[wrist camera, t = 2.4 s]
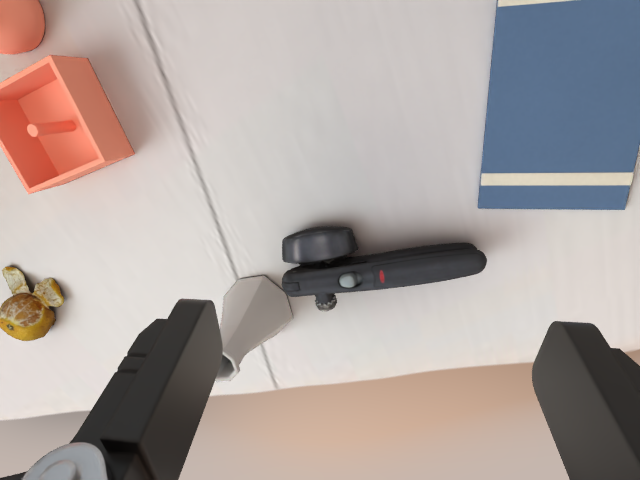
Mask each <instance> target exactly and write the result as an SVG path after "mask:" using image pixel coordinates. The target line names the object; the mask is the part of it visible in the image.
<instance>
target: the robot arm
mask: <svg viewBox="0 0 640 480" xmlns="http://www.w3.org/2000/svg"><path fill="white" fill-rule="evenodd" d="M222 353H223V343H222V338H221V333H220V329H219V324H218V319H217V315H216V310H215V306H214V303H213V302H212V301H211V300H197V299H180V300H179V301H178V302H177V303H176V305H175V307H174V308H173V310H172V312H171V314H170V315H169V317H168V319H156V320H155V321H154V322H153V323H152V324H150V325H149V326H148V327H147V328H146V329H145V330H143V331H142V332H141V333H140V334H139V335H138V337H137V338H136V340H135V341H134V343H133V345H132V346H131V348H130V349H129V351H128V355H127V357H124V359H123V361H122V362H121V364H120V365H119V367H118V371H117V372H115V373H114V375H113V377H112V378H111V380H110V381H109V383H108V385H107V386H106V388H105V389H104V391H103V393H102V394H101V396H100V397H99V399H98V401H97V402H96V404H95V405H94V407H93V409H92V410H91V412H90V414H89V415H88V417H87V418H86V420H85V422H84V423H83V425H82V426H81V428H80V430H79V431H78V433H77V434H76V435H75V437H74V438H73V440H72V441H71V442H70V443H69V444H67V445H64V446H61V447H59V448H57V449H55V450H53V451H51V452H49V453H48V454H47V455H45V456H43V457H42V458H41V459H40V460H38V461H37V462H36V463H35V464H34V465H33V466H32V467H31V468H30V469H29V470H28V471H27V472H23V473H20V474H16V475H12V476H7V477H3V478H0V480H178V479H179V476H180V473H181V471H182V468H183V465H184V463H185V460H186V457H187V454H188V452H189V449H190V446H191V444H192V440H193V438H194V435H195V433H196V430H197V427H198V425H199V422H200V419H201V417H202V414H203V411H204V408H205V406H206V403H207V400H208V398H209V395H210V392H211V390H212V387H213V384H214V381H215V379H216V376H217V373H218V371H219V368H220V365H221V360H222ZM532 381H533V387H534V390H535V393H536V396H537V398H538V401H539V403H540V406H541V408H542V411H543V413H544V416H545V418H546V421H547V423H548V426H549V428H550V431H551V433H552V436H553V438H554V441H555V443H556V446H557V448H558V451H559V454H560V456H561V459H562V461H563V464H564V466H565V469H566V471H567V473H568V476H569V479H570V480H640V366H639V365H638V364H637V363H635V362H634V361H633V360H632V359H631V358H630V357H629V356H627V355H626V354H625V353H624V352H623V351H622V350H620V349H616V348H610V346H609V345H608V343H607V342H606V340H605V339H604V337H603V335H602V334H601V332H600V331H599V329H598V328H597V327H596V326H595V325H593V324H591V323H578V322H560V321H555V322H553V323H552V324H551V325H550V327H549V329H548V331H547V334H546V336H545V338H544V341H543V343H542V345H541V348H540V350H539V352H538V355H537V357H536V359H535V362H534V364H533V370H532Z"/></svg>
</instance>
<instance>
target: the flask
mask: <svg viewBox="0 0 640 480" xmlns="http://www.w3.org/2000/svg"><path fill="white" fill-rule="evenodd" d="M292 318H293V316H292V312H291V309H290V306H289V302H288V299H287V296H286V293H285V292H283V291H282V290H281V289H280V288H279V287H277V286H276V285H275V284H274V283H273V282H271V281H270V280H269V279H268V278H266V277H265V276H258V277H251V278H244V279H238V281H237V282H236V283H235V284H234V285H233V287H232V288H231V289H230V290H229V291H228V292H227V294H226V295H225V296H224V299H223V309H222V318H221V325H220V333H221V338H222V343H223V353H222V360H221V365H220V368H219V371H218V373H217V376H216V379H215V381H216V382H224V381H231V380H232V379H233V378H234V377H235V376H236V375H237V374H238V372H239V371H240V368H239V364H240V362H241V361H242V359H243V357H244V356H245V355H246V354H247V353H248V352H250V351H251V350H253V349H254V348H256V347H257V346H259V345H260V344H262V343H263V342H265V341H267V340H268V339H270V338H272V337H273V336H275V335H276V334H278V333H279V332H280V331H281V330H282V329H283V328H284V327H285V326H286V325H287V324H288V323H289V322H290V321H291V320H292Z"/></svg>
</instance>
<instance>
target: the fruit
mask: <svg viewBox="0 0 640 480" xmlns="http://www.w3.org/2000/svg"><path fill="white" fill-rule="evenodd" d="M2 272H3V276H4V278H5V279H6V281H7V283H8V286H9V288H10V289H11V291H12V294H13V296H12V297H10V298H8V299H7V300H6V301H5V302H4V303H3V304H2V306H1V308H0V328H1V329H2V330H4V331H5V332H6V333H7V334H8V335H10V336H12V337H14V338H16V339H19V340H22V341H30V340H35V339H38V338H41V337H44V336H45V335H46V334H47V332H48V331H49V329H50V328H51V326H52V325H54V322H55V321H56V319H55V318H54V317H55V316H54V312H53V311H52V310H50V309H49V306H55V307H60V306H61V305H62V304H63V303H64V297H63V296H62V295H61V292H60V288H59V286H58V284H56V282H55V280H53V278H49V279H44V281H43V282H41V283H37V284H36V286H35V289H34V292H33V293H31V292H30V291H29V290H28V288H29V287H28V286H27V285H26V281H25V279H24V278H25V277H24V275H23V273H22V272H21V271H19V270H18V269H17V268H14V267H5V268H4V269H3V270H2Z"/></svg>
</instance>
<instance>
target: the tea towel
mask: <svg viewBox="0 0 640 480" xmlns="http://www.w3.org/2000/svg"><path fill="white" fill-rule="evenodd" d="M639 145H640V0H497V9H496V19H495V30H494V40H493V51H492V61H491V72H490V82H489V93H488V103H487V114H486V124H485V135H484V145H483V156H482V167H481V177H480V188H479V198H478V208H485V209H589V210H625V206H626V202H627V198H628V193H629V189H630V185H631V183H632V179H633V175H634V172H633V171H634V167H635V163H636V158H637V154H638V149H639Z"/></svg>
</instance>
